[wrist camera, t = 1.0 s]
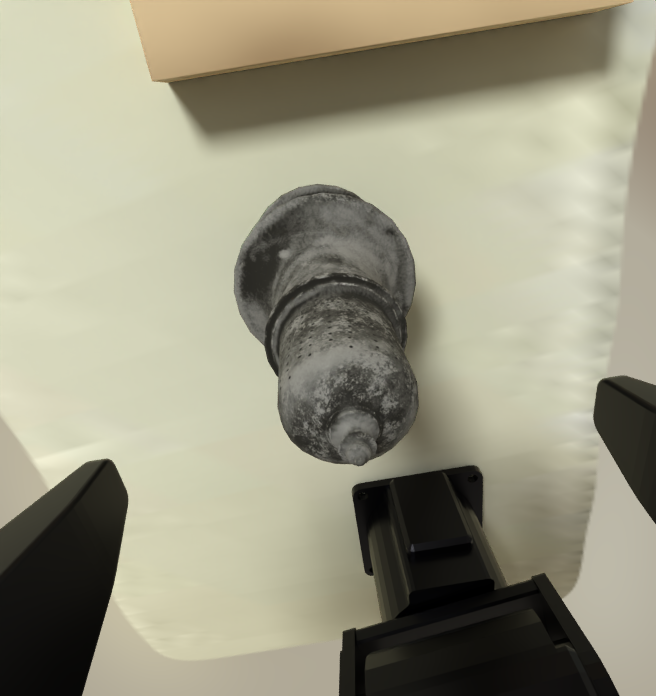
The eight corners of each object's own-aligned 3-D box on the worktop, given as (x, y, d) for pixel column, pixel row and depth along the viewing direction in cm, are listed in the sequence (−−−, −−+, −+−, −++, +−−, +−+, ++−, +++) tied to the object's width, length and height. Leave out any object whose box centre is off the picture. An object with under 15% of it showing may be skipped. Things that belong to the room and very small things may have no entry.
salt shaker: (408, 300, 20) (545, 535, 9) (272, 340, 20) (255, 609, 10) (375, 153, 17) (515, 249, 7) (219, 203, 18) (114, 368, 7)
